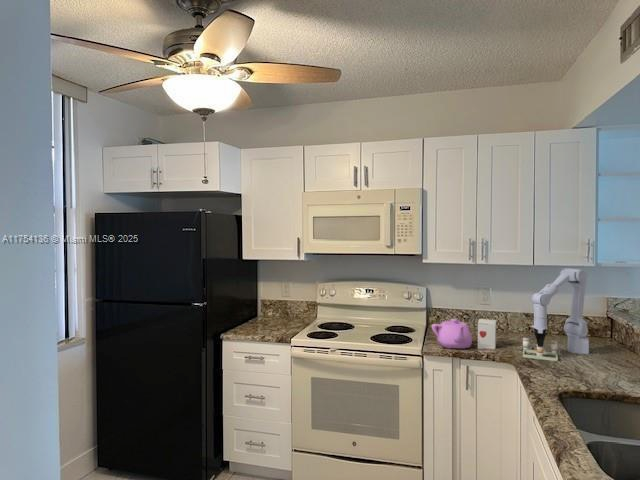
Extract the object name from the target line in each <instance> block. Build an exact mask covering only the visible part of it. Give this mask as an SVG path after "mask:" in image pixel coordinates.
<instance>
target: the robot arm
mask: <svg viewBox="0 0 640 480" xmlns="http://www.w3.org/2000/svg"><path fill="white" fill-rule="evenodd" d="M566 283H569V284H570V285H571V286H572V294H571V295H572V296H571V307H570V316H569V317H567V318H566V319H565V323H564V325H563V331H564V333H565V334H566V335H567V352H569V353H572V354H580V355H581V354H583V355H589V354H590V353H589V352H590V349H589V347H590V345H589V343H590V341H589V337H587V335H588V333H589V328H588V322H587V321H586V320H585V319H584V318H583V317H584V304H585V294H586V285H587V272H586V271H585V270H584V269H582V268H569V267H564V268H563V269H562V270H561V271H560V273H559V275H558V277H557V278H556V279H554V281H553V282H551V283H548V284H545V286H544V287H543V288H542V289H540V291H538V292H535V293H534V294H532V296H531V298H530V301H531V303H532V307H533V325H531V326H530V327H531V328H533V330H534V331H533V334H534V336H535V339H536V346H537V345H538V347H543V348H544V343H545V339H546V337H547V336H548V334H547V333H546V332H547V330H548V326H547V325H548V320H547V319H548V315H547V314H548V305H550V302H551V300H552V298H553V297H554V296H555V295H556V294H558V289H559V288H561V287H562V286H564V284H566Z"/></svg>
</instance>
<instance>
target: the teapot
mask: <svg viewBox="0 0 640 480" xmlns="http://www.w3.org/2000/svg"><path fill="white" fill-rule="evenodd" d="M437 328H438V331H437ZM431 330H432V332H433V333H434V335H436V339H437V342H438V344H439V345H440V346H441V347H444V348H447V349H449V350H452V349H462V350H465V349H467V348H470V347H471V346H472V343H473V338H472V333H471V330H470V328H469V326H468V324H467V323H465V322H463V321H458V318H451V319H450V320H445V321H441V322H440V324H439V323H433V324H431Z"/></svg>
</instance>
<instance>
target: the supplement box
mask: <svg viewBox="0 0 640 480" xmlns="http://www.w3.org/2000/svg"><path fill="white" fill-rule="evenodd" d="M496 347H497V319H487V318H479V319H478V322H477V349H478V350H484V349H490V350H491V349H493V350H496V349H497V348H496Z"/></svg>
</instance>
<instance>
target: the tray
mask: <svg viewBox="0 0 640 480" xmlns="http://www.w3.org/2000/svg"><path fill="white" fill-rule="evenodd" d="M525 353H532V354H525ZM533 354H537V351H536V350H527V349H523V351H522V358H528V359H538V360H544V361H553V362H554V361H555V362H559V357H558V356H559V355H557V353H554V352H545V351H543V356H536V355H533ZM544 355H546V356H544ZM547 355H549V356H555V357H548V356H547Z"/></svg>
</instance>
